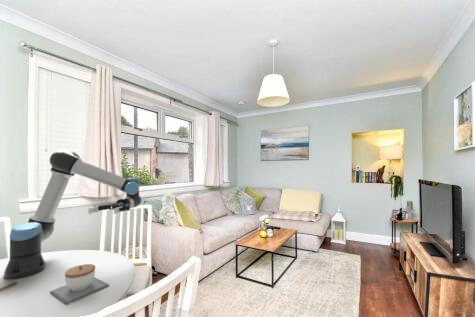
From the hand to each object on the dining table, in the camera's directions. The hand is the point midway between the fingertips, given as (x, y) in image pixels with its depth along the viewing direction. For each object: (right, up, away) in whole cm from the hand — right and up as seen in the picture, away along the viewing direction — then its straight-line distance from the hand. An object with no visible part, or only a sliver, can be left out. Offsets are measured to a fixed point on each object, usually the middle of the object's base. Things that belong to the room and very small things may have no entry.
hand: (101, 211), depth 116 cm
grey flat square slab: (+2, -29, -19) cm, 35 cm away
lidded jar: (+2, -29, -19) cm, 35 cm away
